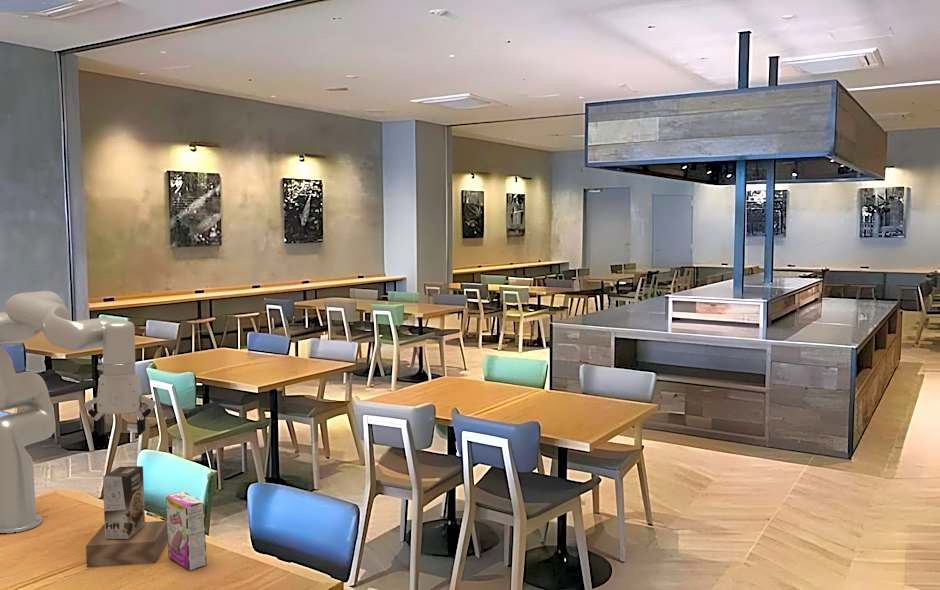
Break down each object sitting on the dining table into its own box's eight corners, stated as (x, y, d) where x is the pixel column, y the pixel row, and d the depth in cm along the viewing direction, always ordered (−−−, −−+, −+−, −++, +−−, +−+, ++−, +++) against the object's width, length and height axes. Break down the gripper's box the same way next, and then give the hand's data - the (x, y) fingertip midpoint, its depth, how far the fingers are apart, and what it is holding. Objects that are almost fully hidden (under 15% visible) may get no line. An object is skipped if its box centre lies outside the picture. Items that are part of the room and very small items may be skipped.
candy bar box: (166, 558, 194) (164, 495, 192) (185, 552, 197) (183, 490, 196) (188, 572, 186) (186, 506, 185) (207, 565, 190) (205, 500, 188)
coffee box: (129, 539, 192) (126, 476, 190) (104, 539, 192) (101, 476, 191) (146, 526, 201) (144, 465, 200) (122, 525, 201) (119, 465, 200)
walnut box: (86, 569, 189) (85, 545, 188) (104, 546, 203) (103, 524, 202) (155, 564, 191) (154, 541, 191) (168, 542, 205) (167, 520, 205)
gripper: (78, 372, 193) (80, 438, 194) (150, 371, 195) (152, 437, 197) (89, 366, 200) (90, 430, 202) (158, 366, 202) (159, 429, 204)
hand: (120, 434), depth 199 cm, fingers open, 9 cm apart
